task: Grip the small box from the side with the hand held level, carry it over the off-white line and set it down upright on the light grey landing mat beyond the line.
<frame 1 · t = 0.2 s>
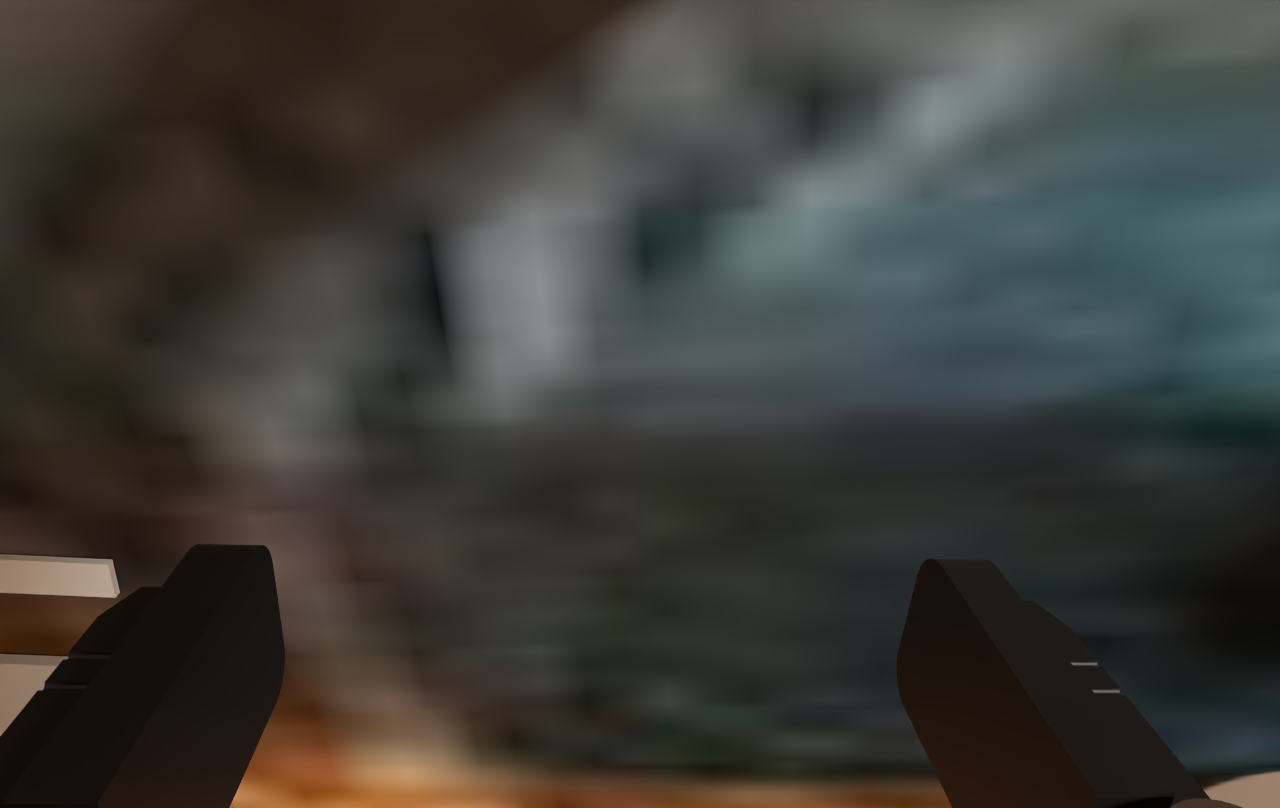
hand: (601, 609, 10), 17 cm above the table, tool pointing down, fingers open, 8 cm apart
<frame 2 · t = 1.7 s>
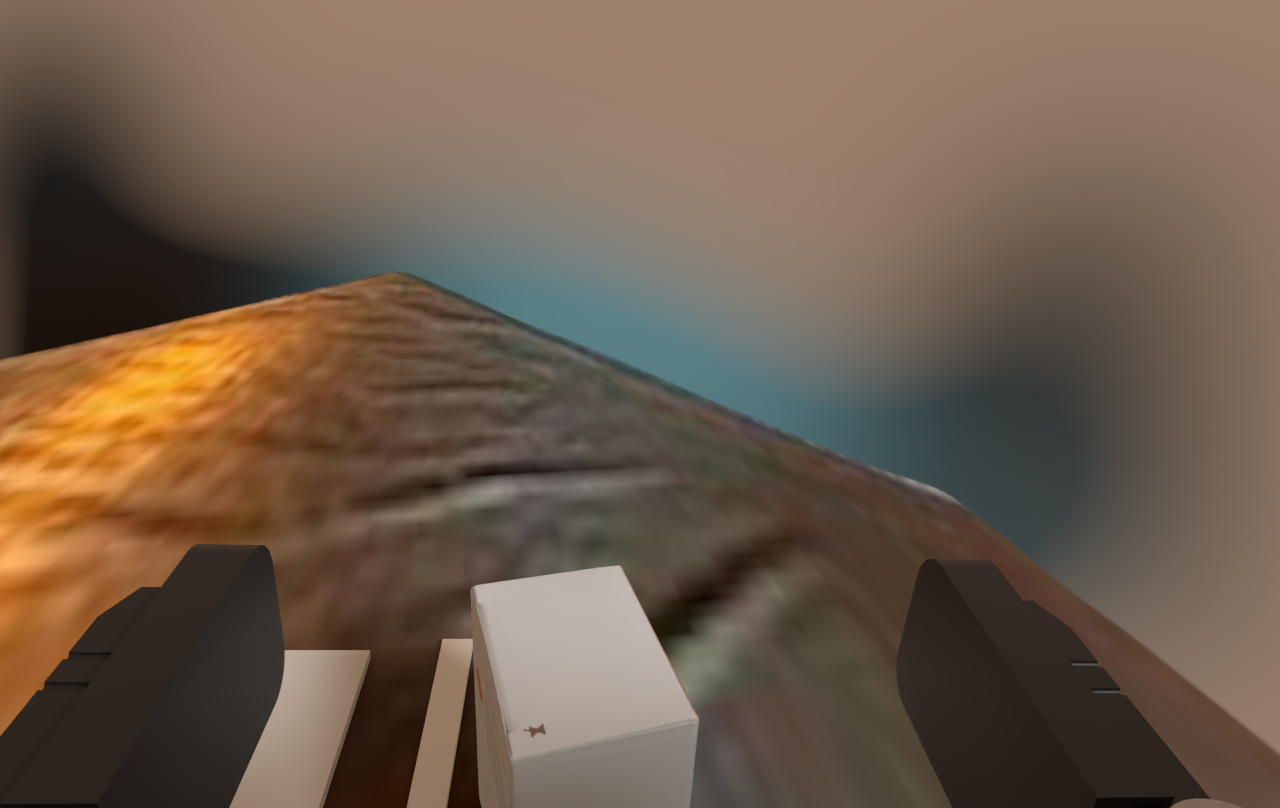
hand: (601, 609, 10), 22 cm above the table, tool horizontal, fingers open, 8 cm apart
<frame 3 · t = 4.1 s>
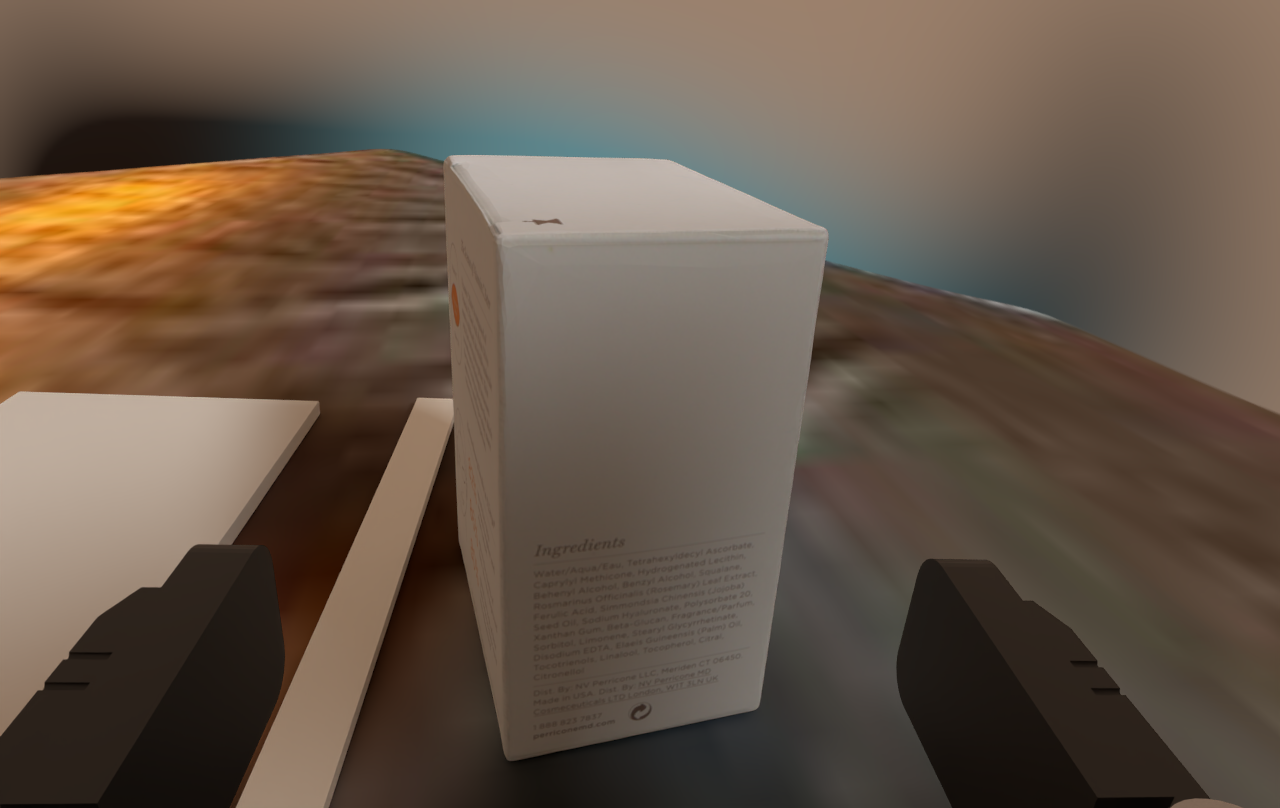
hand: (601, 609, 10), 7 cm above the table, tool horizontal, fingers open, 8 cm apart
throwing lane: (307, 589, 20), on the table
small box: (588, 626, 20), on the table
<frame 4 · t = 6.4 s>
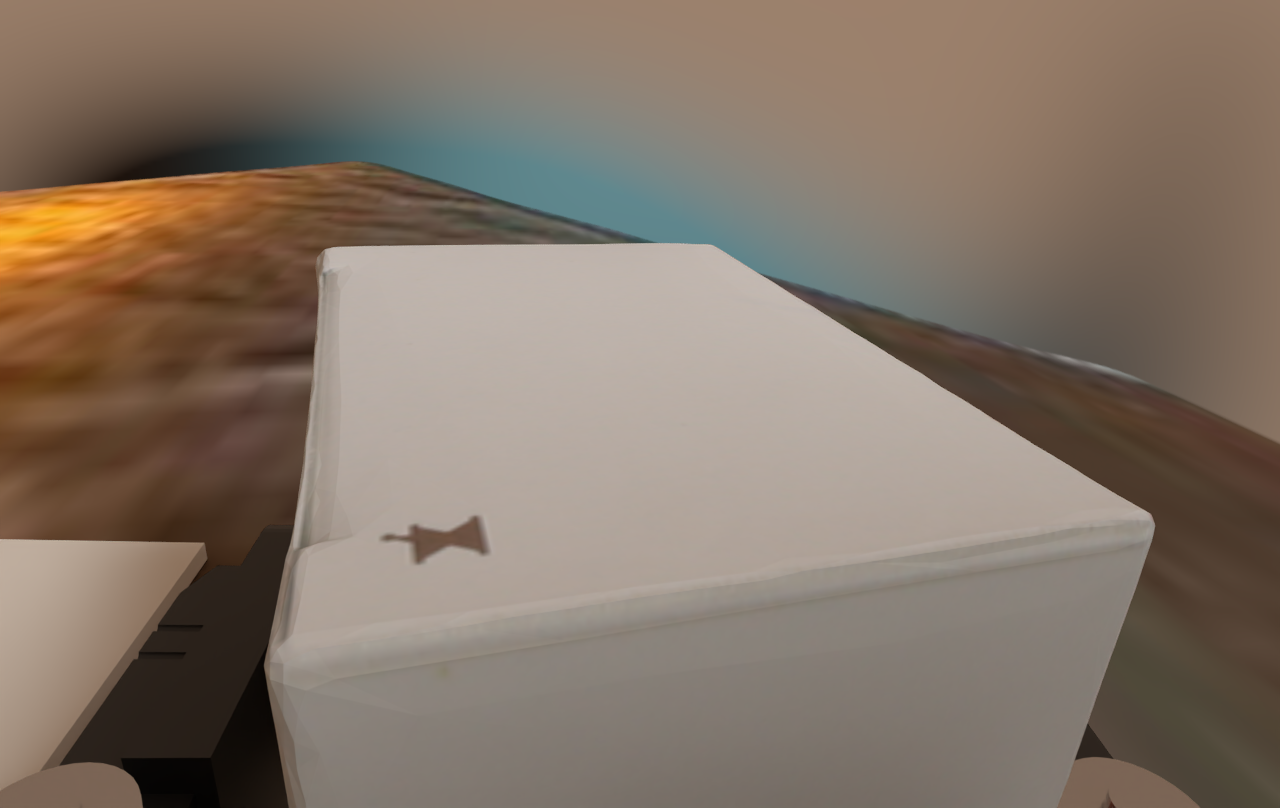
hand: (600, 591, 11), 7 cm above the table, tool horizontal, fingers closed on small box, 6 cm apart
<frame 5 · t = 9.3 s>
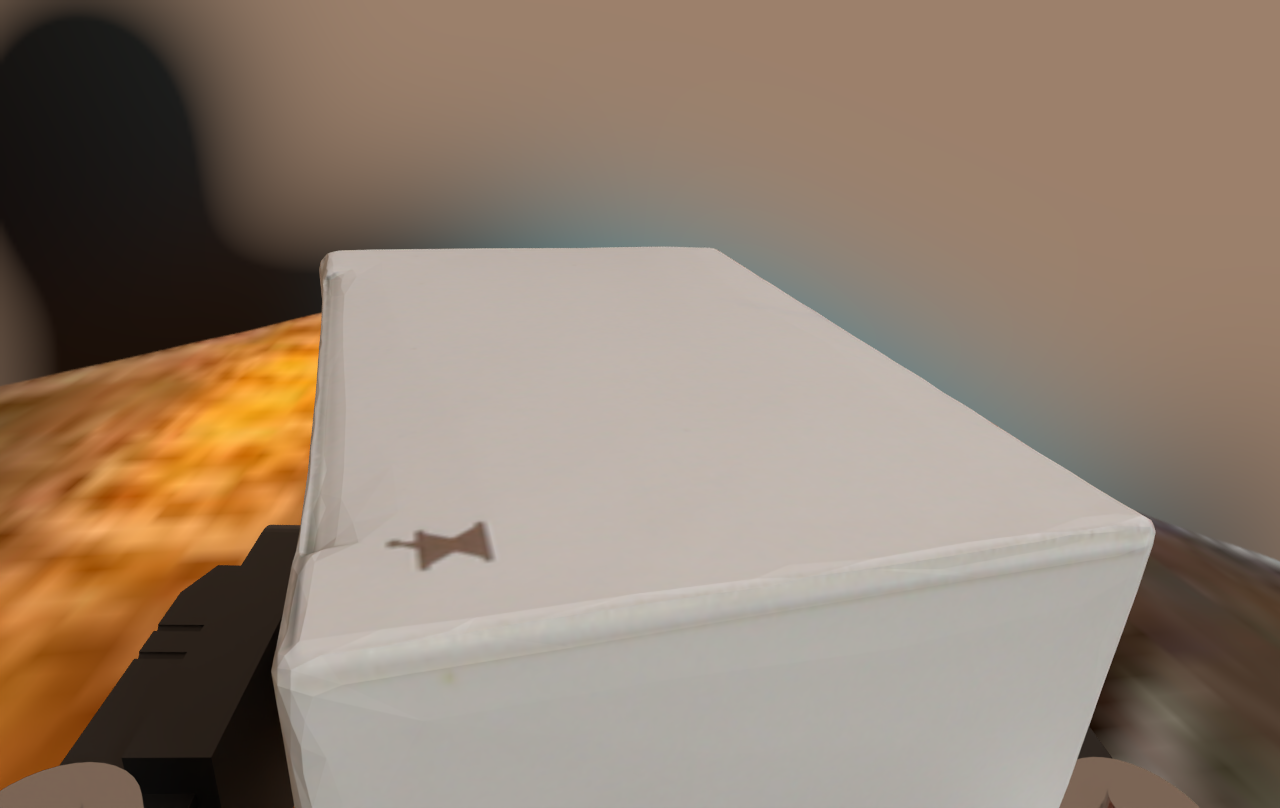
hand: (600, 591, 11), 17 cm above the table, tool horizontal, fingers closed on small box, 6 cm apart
when the fingers open (8 cm above the table, at t = 12.4 s): small box stays where it is, resting on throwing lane.
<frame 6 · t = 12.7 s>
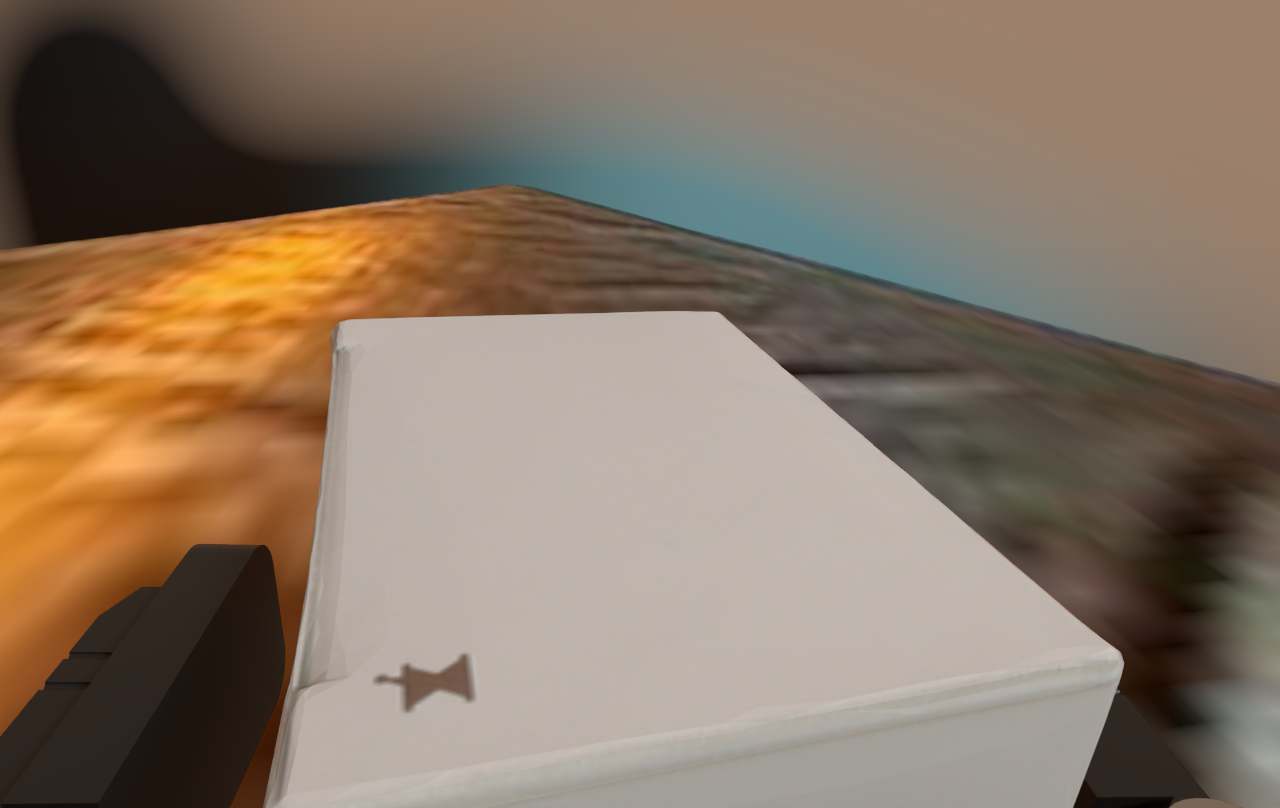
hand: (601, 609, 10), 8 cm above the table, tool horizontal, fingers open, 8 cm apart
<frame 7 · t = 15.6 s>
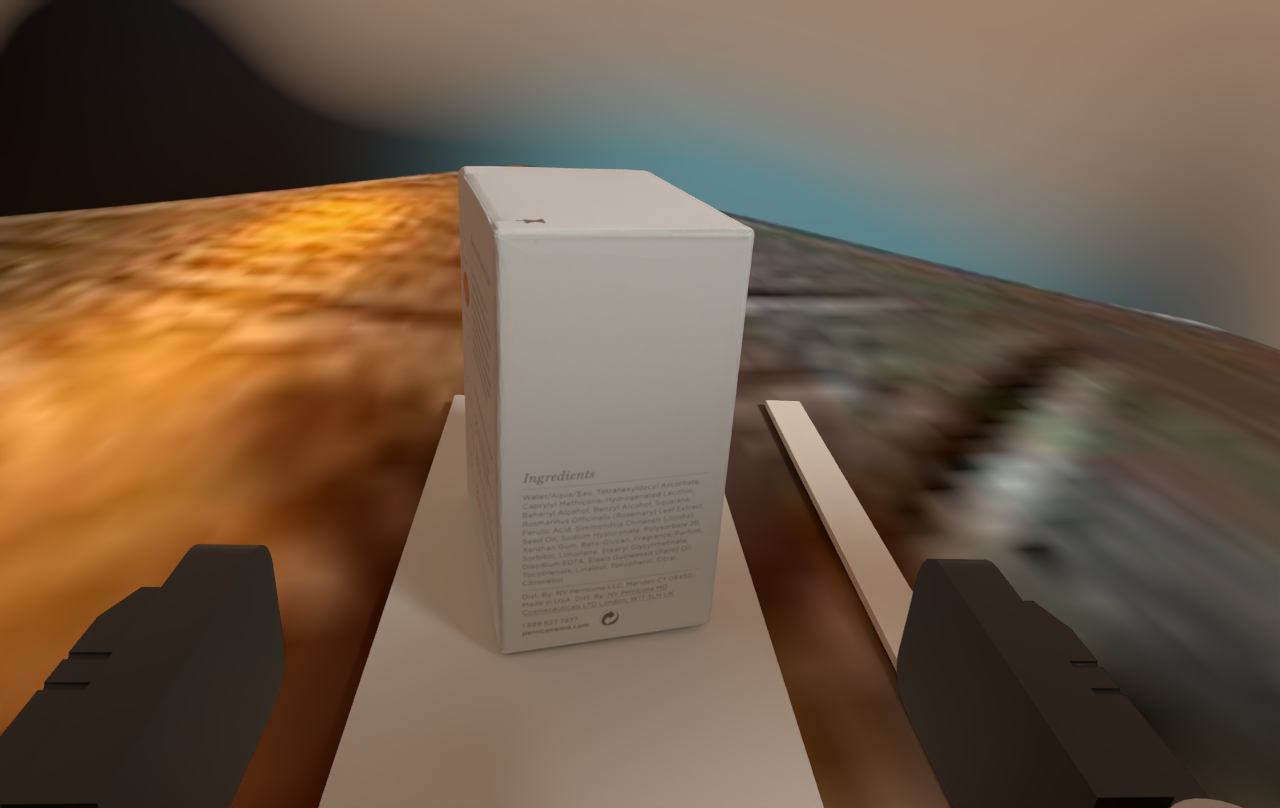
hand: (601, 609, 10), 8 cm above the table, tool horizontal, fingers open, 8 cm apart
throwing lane: (813, 551, 26), on the table
small box: (574, 561, 24), resting on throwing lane
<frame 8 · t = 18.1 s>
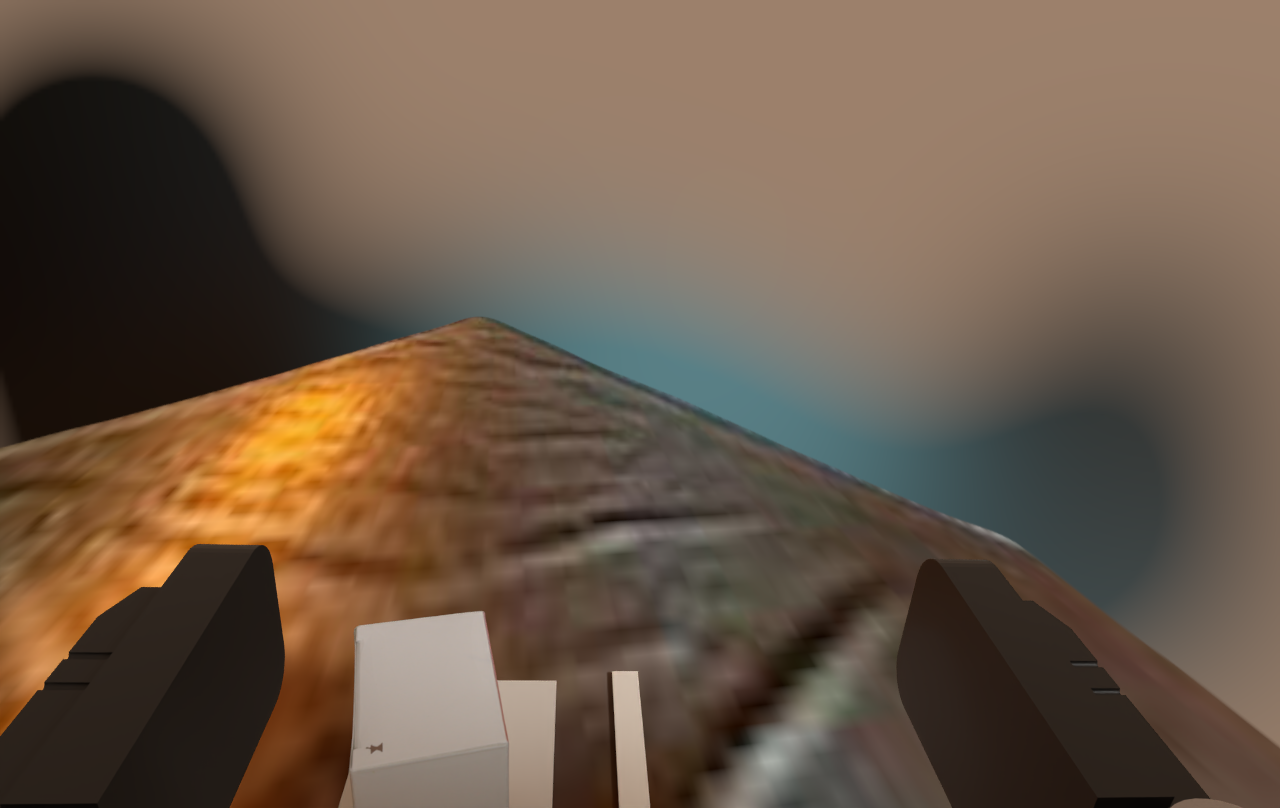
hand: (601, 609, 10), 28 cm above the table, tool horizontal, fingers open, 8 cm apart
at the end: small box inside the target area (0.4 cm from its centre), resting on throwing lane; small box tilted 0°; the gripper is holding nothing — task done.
